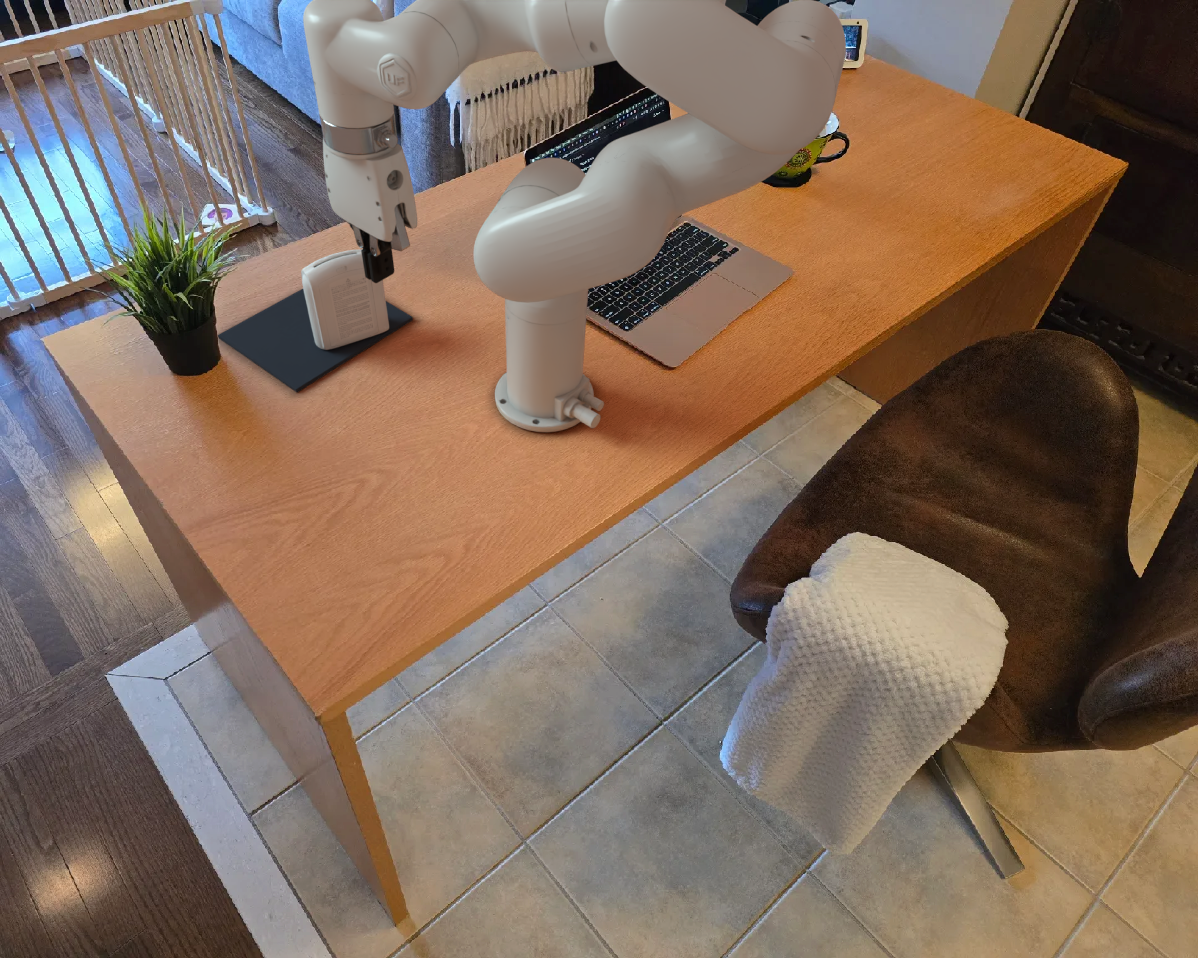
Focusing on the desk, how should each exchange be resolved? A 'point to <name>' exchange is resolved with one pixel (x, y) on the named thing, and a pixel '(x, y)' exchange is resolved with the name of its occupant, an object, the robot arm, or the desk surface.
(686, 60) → the robot arm
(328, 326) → the photo printer
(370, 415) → the desk surface
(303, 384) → the desk mat
